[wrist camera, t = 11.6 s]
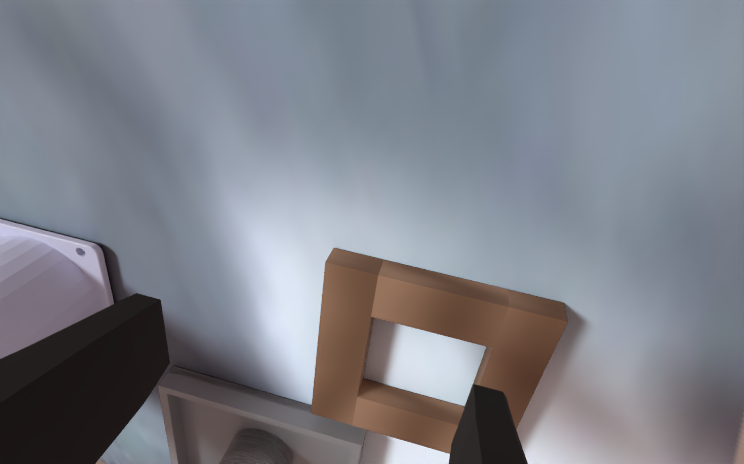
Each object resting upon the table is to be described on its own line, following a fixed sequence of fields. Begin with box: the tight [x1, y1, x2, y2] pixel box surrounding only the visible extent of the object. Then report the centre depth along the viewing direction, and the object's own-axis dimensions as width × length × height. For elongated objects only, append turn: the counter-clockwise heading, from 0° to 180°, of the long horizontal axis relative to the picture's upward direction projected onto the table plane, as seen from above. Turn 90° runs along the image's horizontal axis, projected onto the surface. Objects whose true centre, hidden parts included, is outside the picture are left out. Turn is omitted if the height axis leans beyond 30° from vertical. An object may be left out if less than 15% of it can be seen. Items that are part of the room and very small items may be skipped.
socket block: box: [311, 248, 568, 454], centre depth 21 cm, size 10×10×1 cm
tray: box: [158, 366, 366, 464], centre depth 28 cm, size 12×10×2 cm
